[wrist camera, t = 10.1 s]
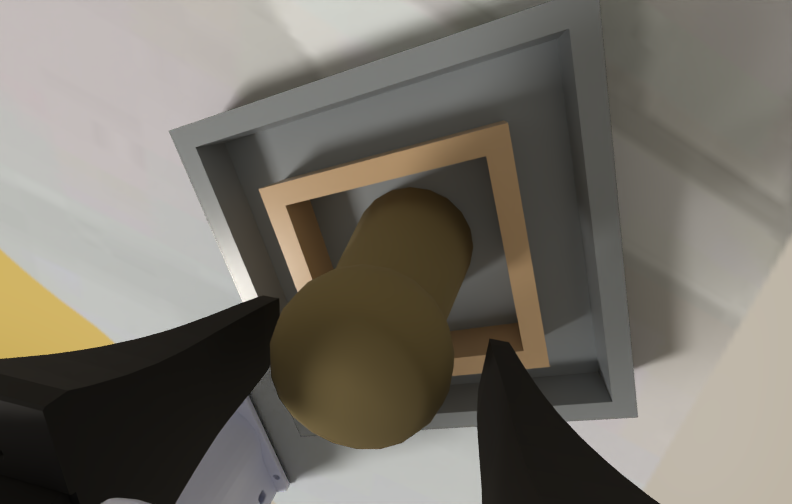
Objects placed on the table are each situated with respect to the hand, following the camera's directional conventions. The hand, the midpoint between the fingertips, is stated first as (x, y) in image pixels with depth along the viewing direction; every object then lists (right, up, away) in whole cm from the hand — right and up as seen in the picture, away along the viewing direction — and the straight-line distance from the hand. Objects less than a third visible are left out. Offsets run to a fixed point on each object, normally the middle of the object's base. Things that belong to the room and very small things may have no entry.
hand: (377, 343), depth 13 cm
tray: (+2, +3, +8) cm, 8 cm away
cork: (+1, +3, +7) cm, 8 cm away
